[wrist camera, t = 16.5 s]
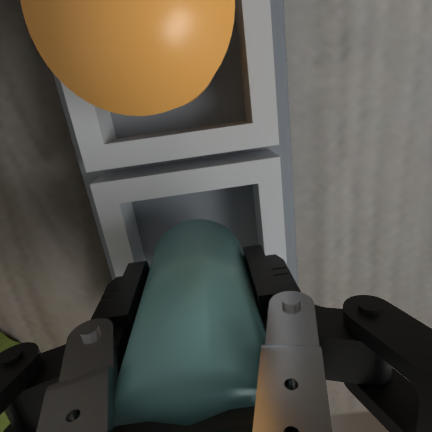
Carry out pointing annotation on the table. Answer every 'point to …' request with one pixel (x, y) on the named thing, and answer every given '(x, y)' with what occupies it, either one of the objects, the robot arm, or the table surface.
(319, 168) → the table surface
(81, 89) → the orange pin
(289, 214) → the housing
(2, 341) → the plant pot
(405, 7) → the table surface
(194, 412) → the teal pin
